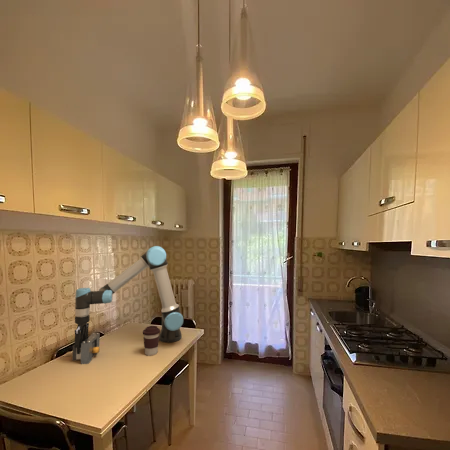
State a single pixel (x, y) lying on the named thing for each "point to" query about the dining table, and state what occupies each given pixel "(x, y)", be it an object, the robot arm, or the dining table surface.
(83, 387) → the dining table surface
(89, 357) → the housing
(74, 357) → the plug
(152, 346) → the coffee cup
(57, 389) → the dining table surface
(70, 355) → the pad
